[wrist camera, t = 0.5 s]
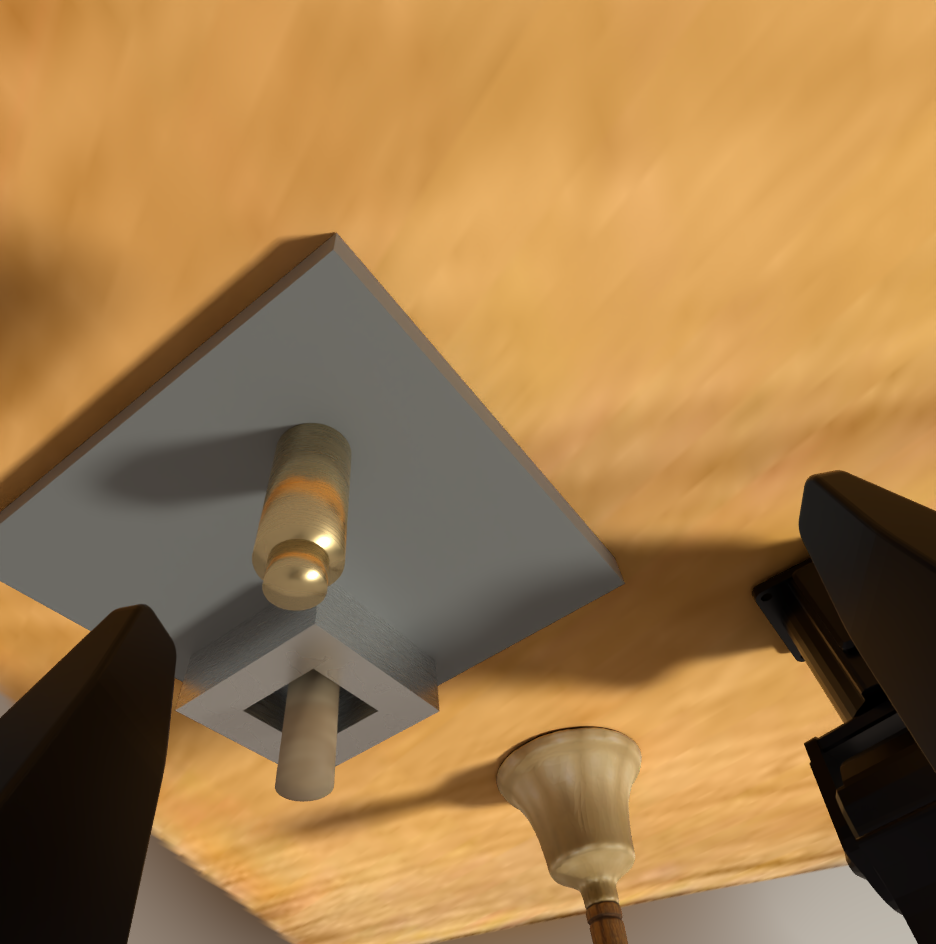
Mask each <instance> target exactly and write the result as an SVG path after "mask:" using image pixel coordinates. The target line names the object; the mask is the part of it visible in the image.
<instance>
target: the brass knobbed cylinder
mask: <svg viewBox="0 0 936 944" xmlns="http://www.w3.org/2000/svg"><path fill="white" fill-rule="evenodd" d="M350 473H351V448H350V445H349V443H348V441H347V440H346V438H345V437H344V436H343V435H342V434H341V433H340V432H339V431H337V430H336V429H334V428H332V427H330V426H327V425H324V424H320V423H303V424H299V425H296V426H293V427H291V428H290V429H288V430H287V431H286V432H284V433H283V435H282V436H281V437H280V439H279V440H278V443H277V446H276V451H275V455H274V460H273V464H272V468H271V473H270V477H269V482H268V486H267V491H266V495H265V500H264V504H263V509H262V513H261V518H260V522H259V527H258V531H257V536H256V540H255V545H254V549H253V553H252V564H253V567H254V569H255V571H256V573H257V574H258V576H259V577H260V578H261V579H262V580H263V585H262V590H263V594H264V596H265V597H266V599H267V600H268V601H269V602H271V603H272V604H273V605H275V606H277V607H279V608H282V609H286V610H292V611H301V610H307V609H310V608H313V607H315V606H317V605H318V604H320V603H321V602H322V601H323V600H324V598H325V597H326V594H327V588H328V586H330V585H331V584H333V583H334V582H335V581H336V580H337V579H338V578H339V577H340V576H341V574H342V572H343V570H344V566H345V554H346V538H347V521H348V505H349V489H350Z"/></svg>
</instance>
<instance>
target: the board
mask: <svg viewBox="0 0 936 944" xmlns="http://www.w3.org/2000/svg"><path fill="white" fill-rule="evenodd" d="M303 423H320V424H324V425H327V426H330V427H332V428H334V429H336V430H337V431H339V432H340V433H341V434H342V435H343V436H344V437H345V438H346V440H347V441H348V443H349V445H350V448H351V473H350V489H349V505H348V521H347V538H346V554H345V566H344V570H343V572H342V574H341V576H340V577H339V578H338V579H337V580H336V581H335V582H334V583H336V584H337V585H338V586H340V587H341V588H342V589H343V590H345V591H346V592H347V593H349V594H350V595H351V596H353V597H354V598H355V599H357V600H358V601H359V602H360V603H362V604H363V605H364V606H366V607H367V608H368V609H370V610H371V611H372V612H374V613H375V614H376V615H377V616H379V617H380V618H381V619H383V620H384V621H385V622H387V623H388V624H389V625H391V626H392V627H393V628H395V629H396V630H397V631H398V632H400V633H401V634H402V635H404V636H405V637H406V638H408V639H409V640H410V641H412V642H413V643H414V644H415V645H417V646H418V647H419V648H421V649H422V650H423V651H425V652H426V653H427V654H429V655H430V656H431V657H432V658H434V659H435V661H436V674H437V686H438V685H440V684H442V683H444V682H446V681H447V680H449V679H451V678H453V677H455V676H457V675H458V674H460V673H462V672H464V671H466V670H467V669H469V668H471V667H473V666H475V665H477V664H478V663H480V662H482V661H484V660H486V659H488V658H489V657H491V656H493V655H495V654H497V653H499V652H500V651H502V650H504V649H506V648H508V647H510V646H511V645H513V644H515V643H517V642H519V641H521V640H522V639H524V638H526V637H528V636H530V635H532V634H533V633H535V632H537V631H539V630H541V629H543V628H544V627H546V626H548V625H550V624H552V623H554V622H555V621H557V620H559V619H561V618H563V617H564V616H566V615H568V614H570V613H572V612H574V611H575V610H577V609H579V608H581V607H583V606H585V605H586V604H588V603H590V602H592V601H594V600H596V599H597V598H599V597H601V596H603V595H605V594H607V593H608V592H610V591H612V590H614V589H616V588H618V587H619V586H621V585H623V584H625V582H624V580H623V577H622V575H621V572H620V570H619V567H618V565H617V562H616V560H615V558H614V556H613V555H612V554H611V553H610V552H609V551H608V549H607V548H606V547H605V546H604V545H603V544H602V542H601V541H600V540H599V539H598V538H597V537H596V535H595V534H594V533H593V532H592V531H591V529H590V528H589V527H588V526H587V525H586V524H585V522H584V521H583V520H582V519H581V518H580V517H579V515H578V514H577V513H576V512H575V511H574V510H573V508H572V507H571V506H570V505H569V504H568V503H567V501H566V500H565V499H564V498H563V497H562V496H561V494H560V493H559V492H558V491H557V490H556V489H555V487H554V486H553V485H552V484H551V483H550V482H549V480H548V479H547V478H546V477H545V476H544V475H543V473H542V472H541V471H540V470H539V469H538V468H537V466H536V465H535V464H534V463H533V462H532V461H531V459H530V458H529V457H528V456H527V455H526V453H525V452H524V451H523V450H522V449H521V448H520V446H519V445H518V444H517V443H516V442H515V441H514V439H513V438H512V437H511V436H510V435H509V434H508V432H507V431H506V430H505V429H504V428H503V427H502V425H501V424H500V423H499V422H498V421H497V420H496V418H495V417H494V416H493V415H492V414H491V413H490V411H489V410H488V409H487V408H486V407H485V406H484V404H483V403H482V402H481V401H480V400H479V399H478V397H477V396H476V395H475V394H474V393H473V392H472V390H471V389H470V388H469V387H468V386H467V385H466V383H465V382H464V381H463V380H462V379H461V378H460V376H459V375H458V374H457V373H456V372H455V370H454V369H453V368H452V367H451V366H450V365H449V363H448V362H447V361H446V360H445V359H444V358H443V356H442V355H441V354H440V353H439V352H438V351H437V349H436V348H435V347H434V346H433V345H432V344H431V342H430V341H429V340H428V339H427V338H426V337H425V335H424V334H423V333H422V332H421V331H420V330H419V328H418V327H417V326H416V325H415V324H414V323H413V321H412V320H411V319H410V318H409V317H408V316H407V314H406V313H405V312H404V311H403V310H402V309H401V307H400V306H399V305H398V304H397V303H396V302H395V300H394V299H393V298H392V297H391V296H390V294H389V293H388V292H387V291H386V290H385V289H384V287H383V286H382V285H381V284H380V283H379V282H378V280H377V279H376V278H375V277H374V276H373V275H372V273H371V272H370V271H369V270H368V269H367V268H366V266H365V265H364V264H363V263H362V262H361V261H360V259H359V258H358V257H357V256H356V255H355V254H354V252H353V251H352V250H351V249H350V248H349V247H348V245H347V244H346V243H345V242H344V241H343V240H342V238H341V237H340V236H339V235H338V234H337V233H335V234H334V235H333V236H332V237H331V238H329V239H328V240H327V241H326V242H325V243H323V244H322V245H321V246H320V247H319V248H317V249H316V250H315V251H314V252H313V253H311V254H310V255H309V256H308V257H307V258H305V259H304V260H303V261H302V262H301V263H299V264H298V265H297V266H296V267H295V268H293V269H292V270H291V271H290V272H289V273H287V274H286V275H285V276H284V277H283V278H281V279H280V280H279V281H278V282H277V283H275V284H274V285H273V286H272V287H271V288H269V289H268V290H267V291H266V292H265V293H263V294H262V295H261V296H260V297H259V298H257V299H256V300H255V301H254V302H252V303H251V304H250V305H249V306H248V307H246V308H245V309H244V310H243V311H242V312H240V313H239V314H238V315H237V316H236V317H234V318H233V319H232V320H231V321H230V322H228V323H227V324H226V325H225V326H224V327H222V328H221V329H220V330H219V331H218V332H216V333H215V334H214V335H213V336H212V337H210V338H209V339H208V340H207V341H206V342H204V343H203V344H202V345H201V346H200V347H198V348H197V349H196V350H195V351H194V352H192V353H191V354H190V355H189V356H188V357H186V358H185V359H184V360H183V361H182V362H180V363H179V364H178V365H177V366H176V367H174V368H173V369H172V370H171V371H169V372H168V373H167V374H166V375H165V376H163V377H162V378H161V379H160V380H159V381H157V382H156V383H155V384H154V385H153V386H151V387H150V388H149V389H148V390H147V391H145V392H144V393H143V394H142V395H141V396H139V397H138V398H137V399H136V400H135V401H133V402H132V403H131V404H130V405H129V406H127V407H126V408H125V409H124V410H123V411H121V412H120V413H119V414H118V415H117V416H115V417H114V418H113V419H112V420H111V421H109V422H108V423H107V424H106V425H105V426H103V427H102V428H101V429H100V430H99V431H97V432H96V433H95V434H94V435H93V436H91V437H90V438H89V439H88V440H86V441H85V442H84V443H83V444H82V445H80V446H79V447H78V448H77V449H76V450H74V451H73V452H72V453H71V454H70V455H68V456H67V457H66V458H65V459H64V460H62V461H61V462H60V463H59V464H58V465H56V466H55V467H54V468H53V469H52V470H50V471H49V472H48V473H47V474H46V475H44V476H43V477H42V478H41V479H40V480H38V481H37V482H36V483H35V484H34V485H32V486H31V487H30V488H29V489H28V490H26V491H25V492H24V493H23V494H22V495H20V496H19V497H18V498H17V499H16V500H14V501H13V502H12V503H11V504H10V505H8V506H7V507H6V508H5V509H4V510H2V511H1V512H0V581H1V582H3V583H5V584H7V585H8V586H10V587H12V588H14V589H16V590H17V591H19V592H21V593H23V594H25V595H26V596H28V597H30V598H32V599H34V600H36V601H37V602H39V603H41V604H43V605H45V606H46V607H48V608H50V609H52V610H54V611H55V612H57V613H59V614H61V615H63V616H64V617H66V618H68V619H70V620H72V621H73V622H75V623H77V624H79V625H81V626H83V627H84V628H86V629H88V630H90V631H92V630H93V629H94V628H95V627H96V626H97V625H98V624H99V623H100V622H101V621H102V620H103V619H104V618H105V617H106V616H107V615H109V614H110V613H111V612H112V611H113V610H115V609H118V608H121V607H126V606H132V605H137V604H146V605H148V606H149V607H151V608H152V610H153V611H154V612H155V614H156V615H157V617H158V618H159V620H160V621H161V623H162V624H163V626H164V627H165V629H166V630H167V632H168V633H169V635H170V636H171V638H172V639H173V641H174V644H175V647H176V654H177V660H176V670H175V678H176V679H178V680H180V681H182V682H183V681H184V677H185V674H186V670H187V667H188V663H189V660H190V656H191V655H193V654H194V653H196V652H197V651H199V650H200V649H202V648H203V647H205V646H207V645H208V644H210V643H211V642H213V641H214V640H216V639H217V638H219V637H220V636H222V635H224V634H225V633H227V632H228V631H230V630H231V629H233V628H234V627H236V626H237V625H239V624H241V623H242V622H244V621H245V620H247V619H248V618H250V617H251V616H253V615H254V614H256V613H258V612H259V611H261V610H262V609H264V608H265V607H267V606H268V605H270V604H271V602H269V601H268V600H267V599H266V597H265V596H264V594H263V590H262V585H263V580H262V579H261V578H260V577H259V576H258V574H257V573H256V571H255V569H254V567H253V564H252V553H253V549H254V545H255V540H256V536H257V531H258V527H259V522H260V518H261V513H262V509H263V504H264V500H265V495H266V491H267V486H268V482H269V477H270V473H271V468H272V464H273V460H274V455H275V451H276V446H277V443H278V440H279V439H280V437H281V436H282V435H283V433H284V432H286V431H287V430H288V429H290V428H291V427H293V426H296V425H299V424H303Z"/></svg>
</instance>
